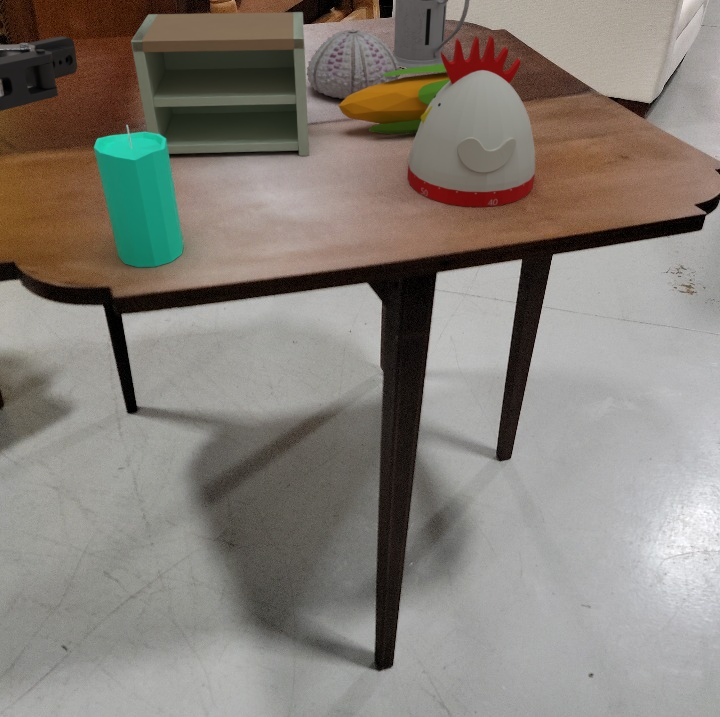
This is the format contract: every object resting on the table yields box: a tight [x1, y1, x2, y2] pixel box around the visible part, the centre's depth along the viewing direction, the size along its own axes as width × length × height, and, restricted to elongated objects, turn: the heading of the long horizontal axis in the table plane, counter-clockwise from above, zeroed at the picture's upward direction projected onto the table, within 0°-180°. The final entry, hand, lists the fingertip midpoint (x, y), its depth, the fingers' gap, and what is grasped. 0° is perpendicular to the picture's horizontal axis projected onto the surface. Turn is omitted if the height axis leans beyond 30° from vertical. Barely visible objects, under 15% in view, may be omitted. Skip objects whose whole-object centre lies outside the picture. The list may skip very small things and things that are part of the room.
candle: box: [93, 124, 184, 268], centre depth 65 cm, size 6×6×12 cm
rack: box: [130, 11, 310, 157], centre depth 87 cm, size 18×12×13 cm, turn 94°
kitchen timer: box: [407, 35, 536, 208], centre depth 77 cm, size 14×14×15 cm
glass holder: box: [393, 0, 470, 68], centre depth 111 cm, size 9×14×15 cm, turn 39°
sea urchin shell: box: [306, 29, 401, 100], centre depth 104 cm, size 13×14×8 cm
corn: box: [338, 64, 450, 135], centre depth 92 cm, size 7×8×20 cm
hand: (20, 44), depth 49 cm, fingers open, 8 cm apart
